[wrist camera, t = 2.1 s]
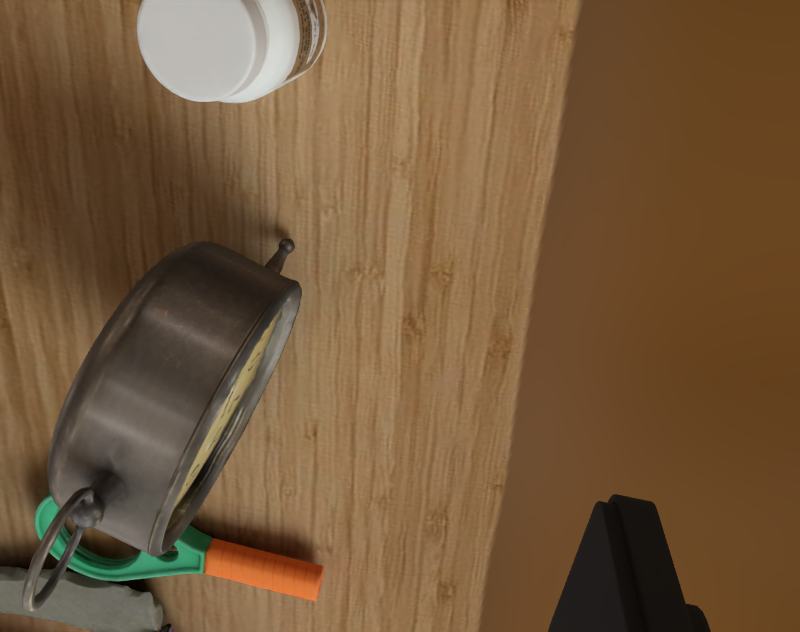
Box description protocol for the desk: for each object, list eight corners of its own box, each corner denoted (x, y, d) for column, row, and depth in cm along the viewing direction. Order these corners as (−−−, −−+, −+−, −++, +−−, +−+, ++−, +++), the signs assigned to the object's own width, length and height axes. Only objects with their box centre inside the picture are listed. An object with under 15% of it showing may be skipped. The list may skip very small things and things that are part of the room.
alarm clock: (249, 428, 35) (77, 751, 21) (145, 381, 35) (-105, 678, 20) (335, 236, 30) (189, 480, 16) (215, 179, 30) (-47, 378, 15)
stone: (173, 617, 43) (166, 569, 40) (161, 651, 41) (153, 603, 38) (-42, 586, 43) (-65, 535, 40) (-62, 619, 41) (-88, 568, 38)
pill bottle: (347, 58, 27) (297, 89, 20) (244, 98, 28) (164, 139, 22) (301, -66, 26) (231, -78, 19) (194, -19, 27) (89, -14, 20)
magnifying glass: (48, 548, 40) (30, 571, 39) (44, 461, 37) (25, 482, 36) (317, 609, 40) (310, 635, 38) (332, 526, 37) (325, 550, 35)
